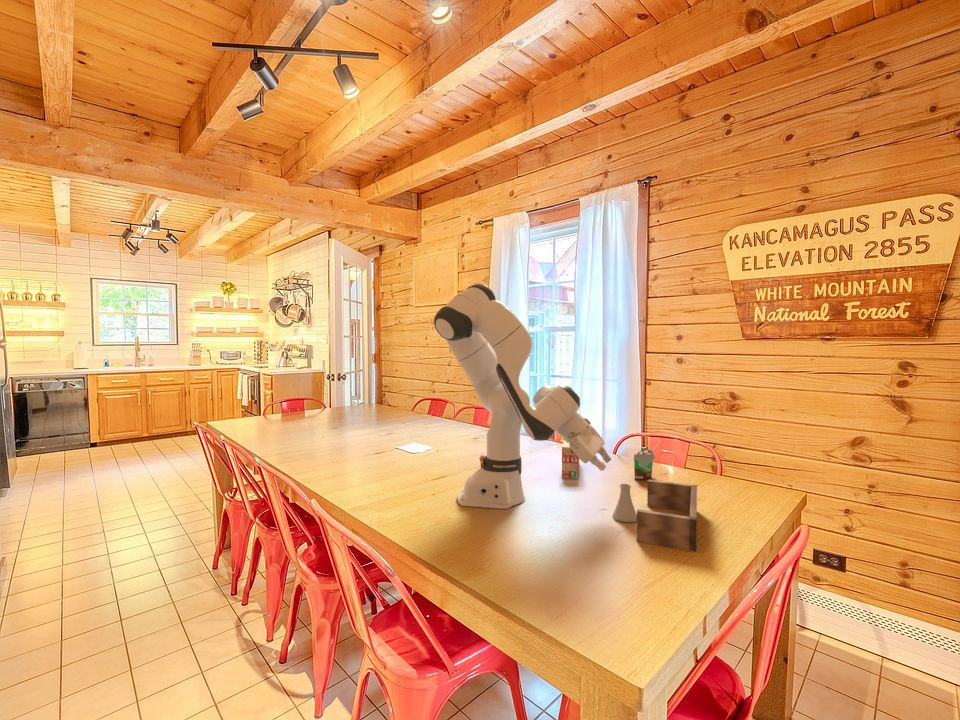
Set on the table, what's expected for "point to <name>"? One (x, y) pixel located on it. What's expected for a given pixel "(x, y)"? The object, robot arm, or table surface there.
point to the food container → (643, 464)
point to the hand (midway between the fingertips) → (606, 465)
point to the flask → (625, 506)
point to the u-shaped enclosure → (669, 516)
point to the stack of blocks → (569, 462)
